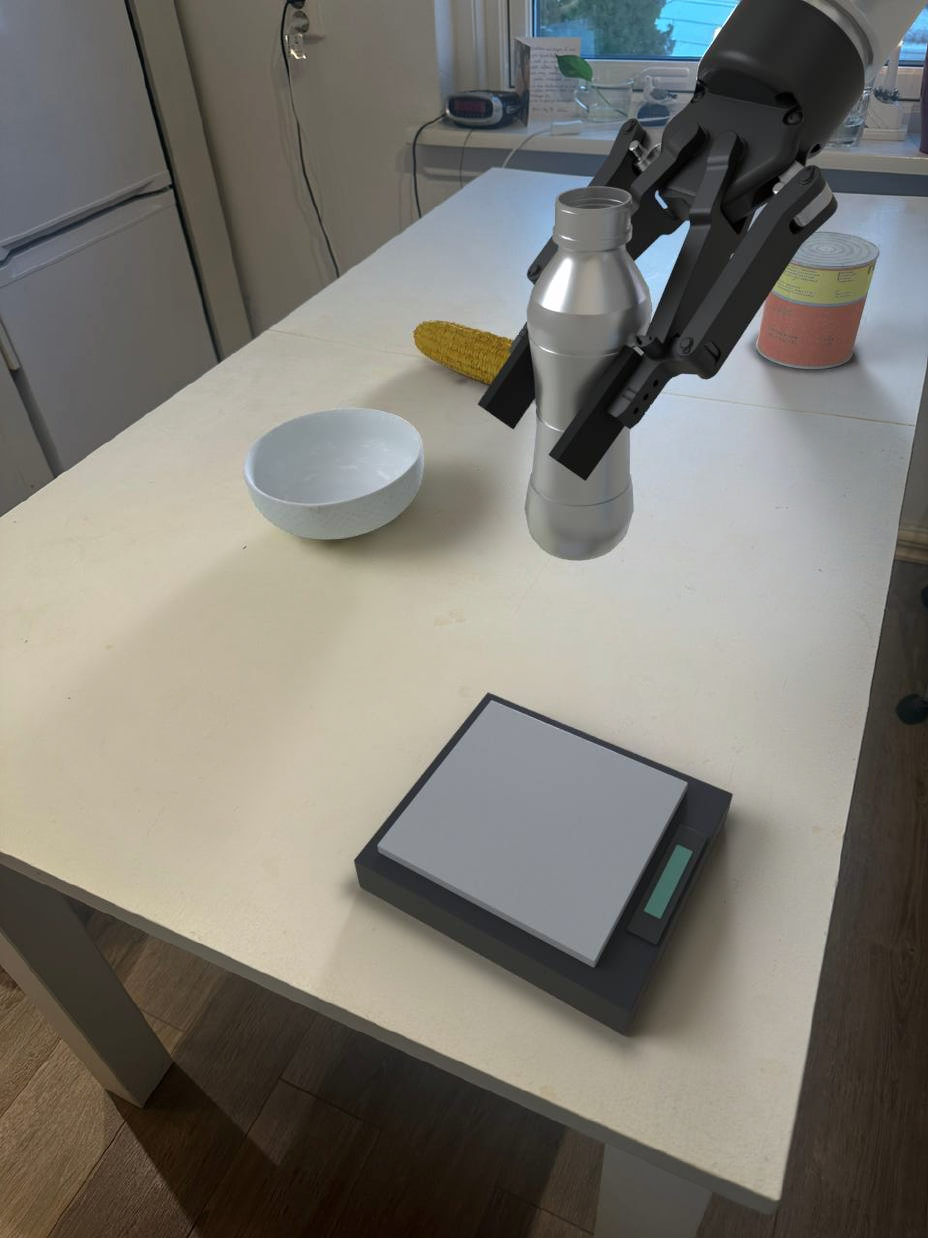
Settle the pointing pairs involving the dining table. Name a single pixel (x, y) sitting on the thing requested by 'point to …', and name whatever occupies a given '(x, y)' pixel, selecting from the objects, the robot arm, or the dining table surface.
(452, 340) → the food
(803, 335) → the canned food
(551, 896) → the scale
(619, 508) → the silver aluminium bottle
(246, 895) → the dining table surface
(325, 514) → the cereal bowl
